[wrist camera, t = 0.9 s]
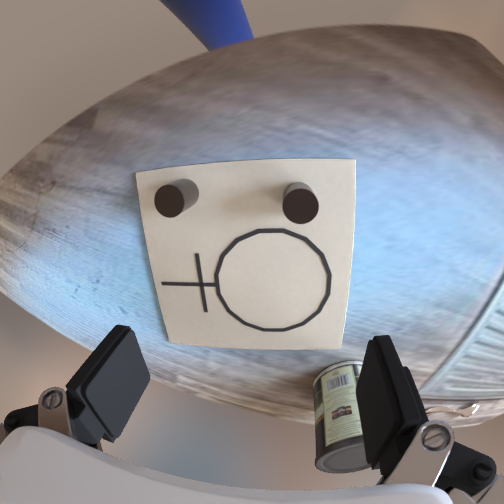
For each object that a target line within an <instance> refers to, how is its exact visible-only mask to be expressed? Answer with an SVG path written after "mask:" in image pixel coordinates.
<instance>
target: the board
mask: <svg viewBox="0 0 504 504" xmlns="http://www.w3.org/2000/svg"><path fill="white" fill-rule="evenodd" d="M181 179H189V180H191V181H193V182H194V183H195V184H196V185H197V187H198V190H199V198H198V200H197V202H196V203H195V204H194V205H193V206H191V207H190V208H188V209H187V210H185V211H184V212H183V213H181V214H180V215H178V216H176V217H173V218H167V217H164V216H162V215H161V214H160V213H159V212H158V211H157V209H156V207H155V204H154V196H155V193H156V192H157V190H158V189H159V188H160V187H162V186H164V185H166V184H169V183H172V182H175V181H178V180H181ZM136 181H137V189H138V196H139V203H140V210H141V216H142V222H143V228H144V234H145V240H146V245H147V250H148V255H149V260H150V265H151V270H152V274H153V279H154V283H155V287H156V292H157V296H158V300H159V304H160V308H161V312H162V316H163V319H164V323H165V327H166V330H167V334H168V337H169V341H170V343H173V344H182V345H193V346H204V347H218V348H235V349H260V350H319V349H341V343H342V337H343V331H344V324H345V317H346V310H347V302H348V294H349V285H350V276H351V265H352V253H353V239H354V221H355V187H356V162H355V159H333V158H292V159H261V160H242V161H228V162H216V163H205V164H195V165H186V166H177V167H169V168H162V169H155V170H148V171H141V172H136ZM295 182H302V183H305V184H307V185H308V186H309V187H310V188H311V189H312V191H313V192H314V194H315V196H316V197H317V199H318V202H319V210H318V213H317V215H316V217H315V218H314V219H313V220H312V221H310V222H309V223H306V224H296V223H293V222H291V221H290V220H288V219H287V218H286V216H285V215H284V212H283V209H282V203H283V193H284V191H285V189H286V188H287V187H288V186H289V185H290V184H292V183H295Z"/></svg>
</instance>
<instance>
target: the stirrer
mask: <svg viewBox="0 0 504 504" xmlns="http://www.w3.org/2000/svg"><path fill="white" fill-rule="evenodd" d="M478 405H479V401H477V402H476V403H475V404H474V405H472V406H470V407H468V408H465V409H461V410H456V409H450V408H446V407H433V408H431V409H428V410H426V414H428V415H427V417H428V416H430V415H432V414H435V413H438V412H454V413H458V414H460V415H461V416H462V417H469V416H471V415H472V414H473V413H474V412H475V411H476V409H477V407H478ZM435 411H436V412H435ZM432 412H434V413H432ZM429 413H431V414H429Z"/></svg>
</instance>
